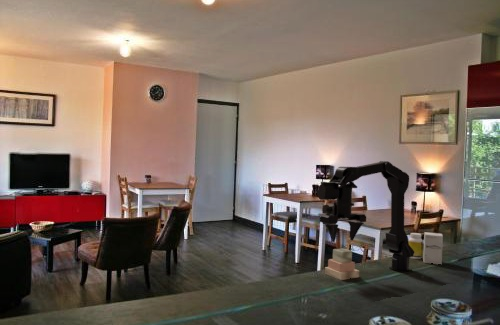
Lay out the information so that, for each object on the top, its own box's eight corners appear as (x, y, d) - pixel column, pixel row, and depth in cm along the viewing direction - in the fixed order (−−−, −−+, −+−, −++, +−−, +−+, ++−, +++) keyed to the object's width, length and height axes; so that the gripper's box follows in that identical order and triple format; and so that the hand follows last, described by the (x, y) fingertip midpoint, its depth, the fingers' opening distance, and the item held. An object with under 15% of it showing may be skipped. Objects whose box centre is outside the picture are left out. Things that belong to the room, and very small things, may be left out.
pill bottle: (423, 259, 187) (424, 235, 187) (409, 258, 188) (410, 234, 188) (420, 256, 193) (421, 233, 193) (406, 255, 195) (407, 232, 194)
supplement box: (423, 263, 181) (424, 234, 181) (423, 259, 188) (424, 231, 188) (441, 265, 178) (443, 235, 178) (441, 261, 185) (442, 233, 185)
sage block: (342, 258, 161) (343, 248, 161) (351, 261, 157) (352, 251, 157) (332, 259, 159) (332, 249, 159) (341, 263, 155) (341, 252, 154)
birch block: (342, 272, 164) (342, 264, 164) (359, 278, 156) (359, 270, 156) (324, 275, 159) (324, 267, 159) (340, 281, 151) (341, 273, 151)
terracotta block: (342, 265, 162) (343, 258, 162) (354, 270, 156) (354, 262, 156) (328, 267, 159) (328, 259, 159) (339, 272, 153) (339, 264, 153)
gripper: (347, 197, 169) (346, 235, 169) (311, 198, 160) (309, 238, 160) (368, 200, 160) (366, 240, 160) (330, 201, 150) (328, 244, 150)
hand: (342, 241), depth 158 cm, fingers open, 9 cm apart
